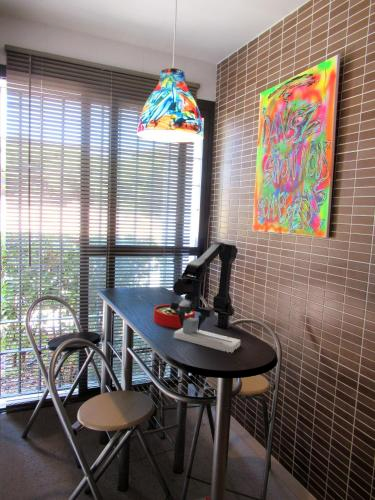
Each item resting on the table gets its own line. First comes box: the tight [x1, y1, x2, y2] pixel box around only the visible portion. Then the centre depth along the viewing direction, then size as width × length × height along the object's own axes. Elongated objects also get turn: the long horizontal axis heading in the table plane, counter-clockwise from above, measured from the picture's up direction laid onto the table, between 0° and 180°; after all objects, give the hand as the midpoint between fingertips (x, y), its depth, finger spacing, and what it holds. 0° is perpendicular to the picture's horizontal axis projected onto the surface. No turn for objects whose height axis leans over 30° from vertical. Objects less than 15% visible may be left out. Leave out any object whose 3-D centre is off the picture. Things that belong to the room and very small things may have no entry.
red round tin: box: [152, 304, 196, 329], centre depth 176 cm, size 20×6×20 cm
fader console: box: [173, 328, 241, 354], centre depth 151 cm, size 10×26×3 cm, turn 62°
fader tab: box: [183, 317, 199, 334], centre depth 154 cm, size 6×4×5 cm, turn 152°
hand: (190, 328), depth 154 cm, fingers open, 8 cm apart
